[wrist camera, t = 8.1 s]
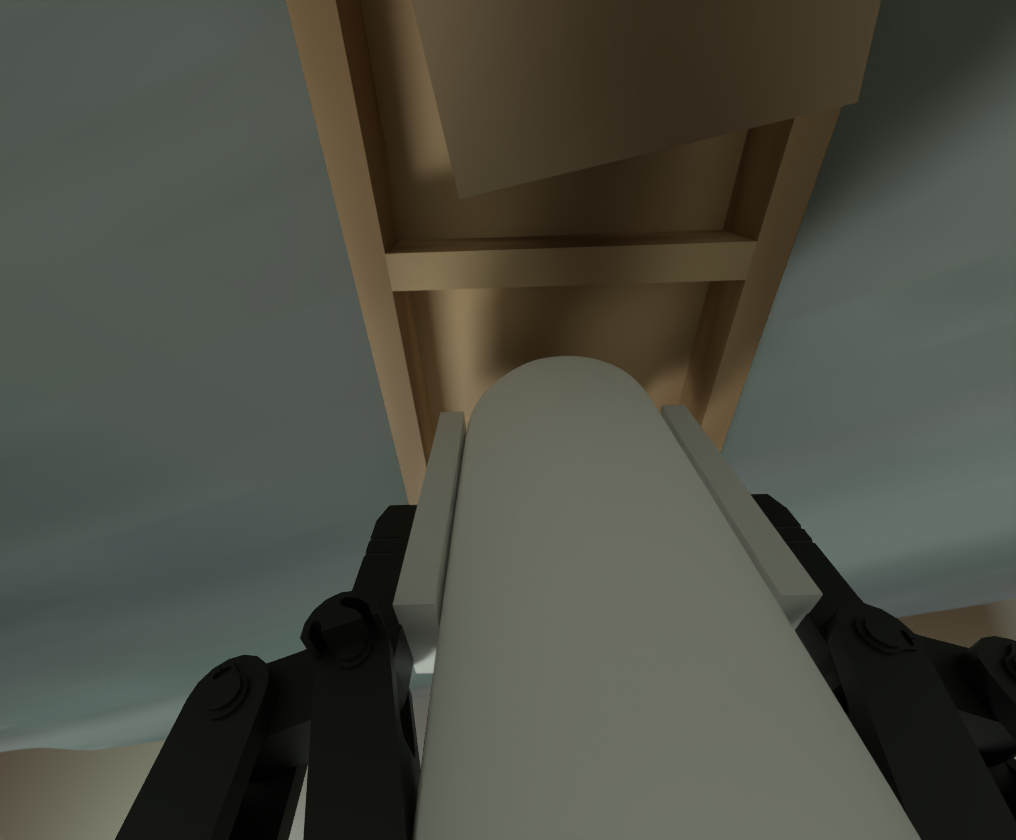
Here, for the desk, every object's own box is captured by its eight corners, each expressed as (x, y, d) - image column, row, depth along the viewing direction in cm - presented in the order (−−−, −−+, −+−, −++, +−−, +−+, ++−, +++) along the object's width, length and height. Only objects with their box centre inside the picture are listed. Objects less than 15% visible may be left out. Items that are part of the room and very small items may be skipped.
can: (606, 308, 11) (1502, 1605, 1) (678, 457, 14) (1088, 1153, 4) (427, 410, 13) (181, 1245, 3) (525, 521, 16) (563, 1113, 6)
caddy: (428, 500, 19) (418, 543, 17) (228, -477, 7) (92, -789, 4) (669, 494, 19) (690, 536, 17) (954, -519, 6) (1184, -864, 4)
